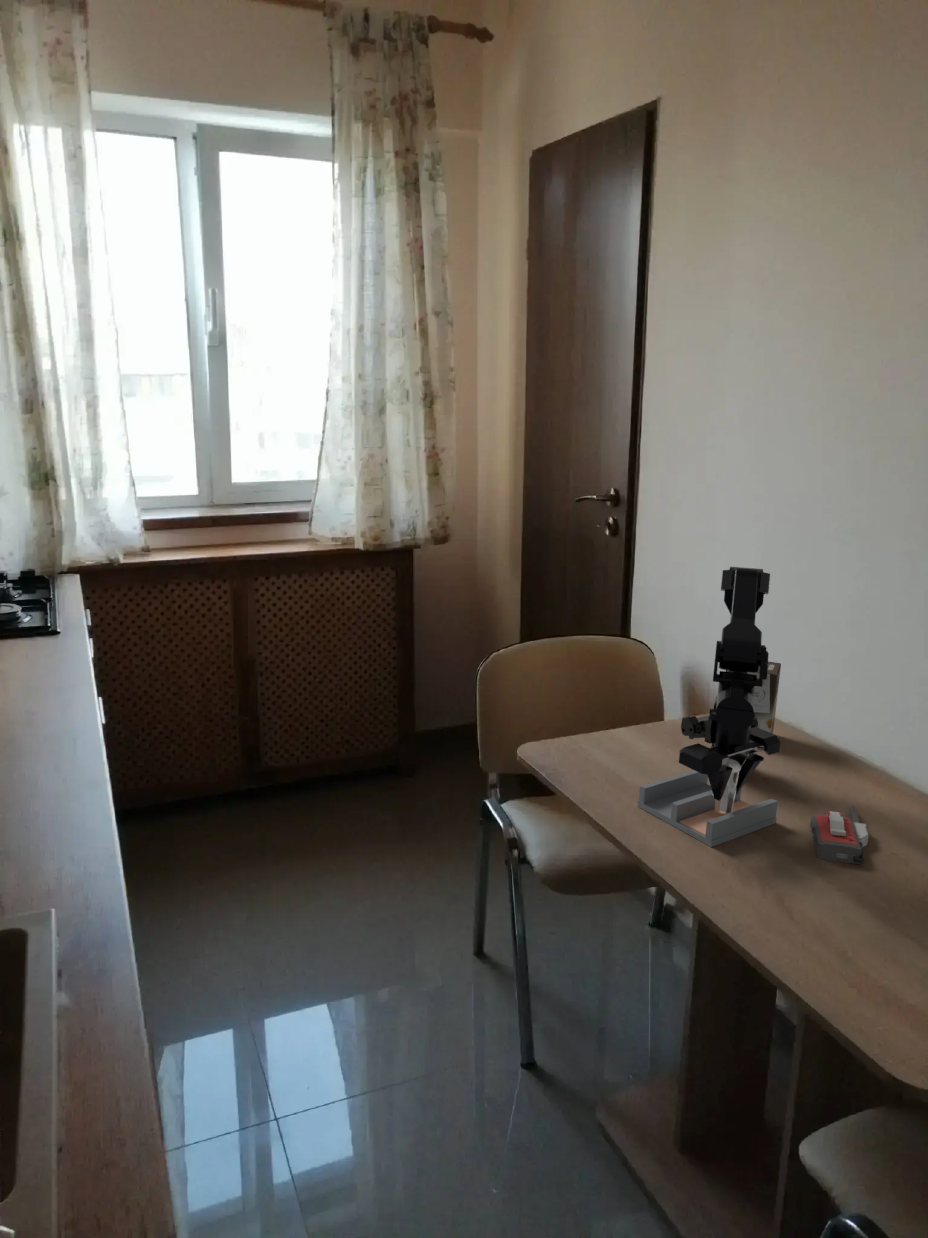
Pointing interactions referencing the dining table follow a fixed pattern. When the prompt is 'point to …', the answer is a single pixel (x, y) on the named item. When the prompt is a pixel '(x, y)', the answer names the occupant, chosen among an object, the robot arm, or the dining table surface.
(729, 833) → the grey slotted tray
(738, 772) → the milkshake
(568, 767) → the dining table surface
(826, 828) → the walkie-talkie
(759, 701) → the coffee box
